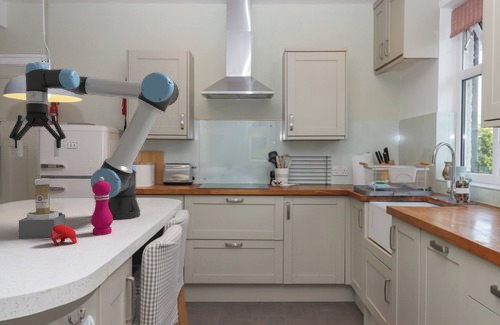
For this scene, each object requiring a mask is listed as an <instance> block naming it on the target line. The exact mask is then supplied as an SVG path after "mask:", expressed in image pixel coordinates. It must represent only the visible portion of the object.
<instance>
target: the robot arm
mask: <svg viewBox="0 0 500 325" xmlns="http://www.w3.org/2000/svg"><path fill="white" fill-rule="evenodd" d="M24 76H25V101H26V104H25V106H26V108H25V109H26V111H25V112H26V115H22V114H21V115H20V114H18V115H17V118H16V119H17V120H16V122H15V124H14V126H13V128H12V130H11V132H10V134H9V136H8V138H9V139H12V140H14V148H15V149H16V150H17V154H16V155H17V157H19V158H21V157H22V158H23V157H24V151H23V150H24V148H23V147H24V146H23V144H24V142H23V141H24V140H23V139H22V138H24V136H25V135H26V134H27V133H28V131H30V129H31V128H32V127H33V128H39V127H40V128H45V129H46V130H47V131H48V133H49V134H51V137H53V138H54V139H55V140H53V157H59V156H60V155H59V154H60V150H59V149H61V148H62V140H65V139H66V138H67V136H66V134H65V133H64V130H63V129H62V127H61V125H60V124H59V122H58V117H57V116H56V115H49V105H48V103H49V95H48V94H49V92H48V91H49V89H51V90H52V89H53V90H55V89H59V90H64V91H67V92H71V93H73V94H75V95H81V96H84V95H90V96H99V97H109V98H119V99H127V100H137V102H138V105H137V107H136V109H135V111H134V113H133V114H132V117H131V119H130V120H129V122H128V124H127V126H126V128H125V130H124V131H123V133H122V135H121V136H120V137H121V138H120V139H119V141H118V142H117V145H116V147H115V148H114V151H113V152H112V154H111V156H110V157H108V158H105V159H104V160H103V162H102V164H101V166H100V168H98V169H97V170H95V172H93V173H92V175H91V178H90V188H92V187H93V185H94V184H95V183H96V182H99V178H100V177H103V178H104V181H105V182H107V183H109V184H110V187H111V190H110V192H109V193H108V195H109V199H108V207H109V210H110V212H111V214H112V217H113V220H126V219H134V218H137V217H140V216H141V209H140V207H139V203H138V200H137V170H136V166H135V164H134V162H135V160H136V158H137V157H138V155H139V153H140V151H141V149H142V147H143V145H144V143H145V142H146V140H147V138H148V136H149V134H150V132H151V130H152V128H153V127H154V125H155V122H156V121H157V119H158V117H159V115H162V114H164V113H165V112H166V111H167V109H168V107H169V106H172V105H173V104H174V103H176V101H177V100H178V98H179V95H180V92H179V91H180V90H179V87H178V85H177V84H176V83H175V81H174V80H172V78H171V77H170V76H168V75H167V74H165V73H162V72H157V71H155V72H150V73H149V74H147V75H146V76H145V77H144V78H143V80H142V81H140V82H139V81H130V80H120V79H110V78H100V77H90V76H82V75H81V76H80V75H79V73H78V72H77V71H76V70H75V69H68V68H65V69H64V68H63V69H58V68H57V69H56V68H55V69H52V68H51V69H50V68H49V69H48V67H47V65H46V64H43V63H38V62H36V63H35V62H30V63H27V64H26V65H25V73H24ZM25 120H26V123H25V124H24V122H25ZM49 121H50V122H52V125H53V126H54V129H55V130H56V131H55V130H54V129H53V127H52V126H51V125H50V123H48V122H49ZM23 124H24V126H23Z"/></svg>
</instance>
